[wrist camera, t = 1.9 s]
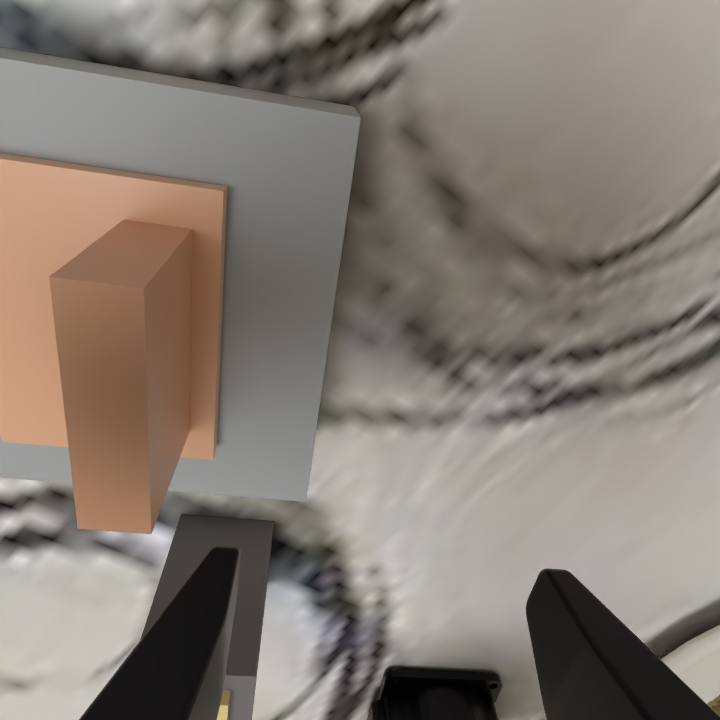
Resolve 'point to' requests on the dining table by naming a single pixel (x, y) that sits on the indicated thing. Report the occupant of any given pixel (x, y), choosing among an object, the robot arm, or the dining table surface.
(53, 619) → the dining table surface
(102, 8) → the dining table surface
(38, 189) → the shutter
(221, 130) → the socket
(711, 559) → the dining table surface
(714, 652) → the plated food
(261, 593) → the grey rectangular block
